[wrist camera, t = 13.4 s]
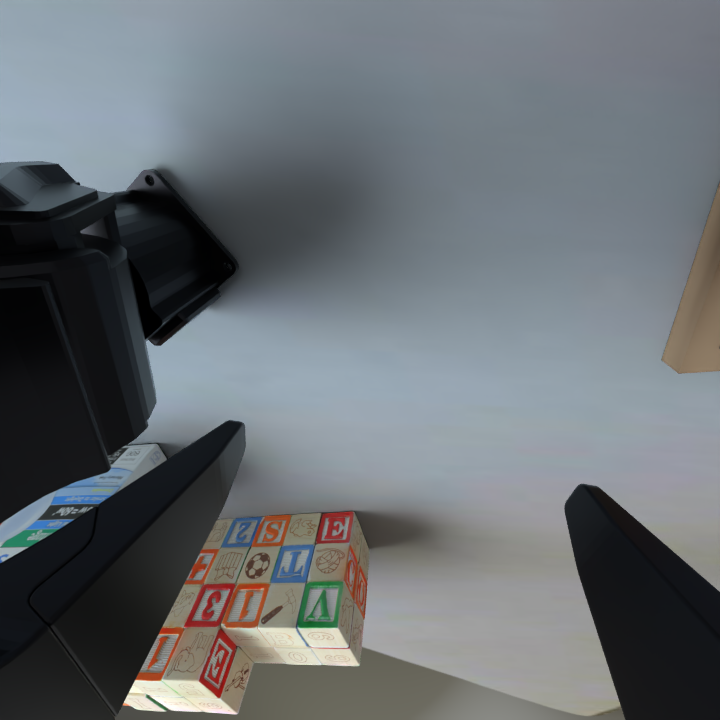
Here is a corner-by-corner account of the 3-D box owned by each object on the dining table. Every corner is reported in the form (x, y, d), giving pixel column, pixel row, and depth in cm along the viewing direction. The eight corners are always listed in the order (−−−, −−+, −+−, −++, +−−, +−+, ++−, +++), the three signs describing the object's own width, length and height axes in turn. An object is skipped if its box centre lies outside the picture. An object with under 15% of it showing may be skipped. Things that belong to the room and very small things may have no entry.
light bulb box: (158, 440, 29) (47, 574, 20) (193, 493, 32) (111, 629, 23) (54, 449, 31) (-91, 575, 22) (97, 499, 34) (-14, 626, 25)
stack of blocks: (355, 507, 31) (332, 688, 21) (370, 548, 34) (357, 724, 24) (154, 522, 36) (50, 677, 25) (183, 557, 39) (102, 708, 28)
